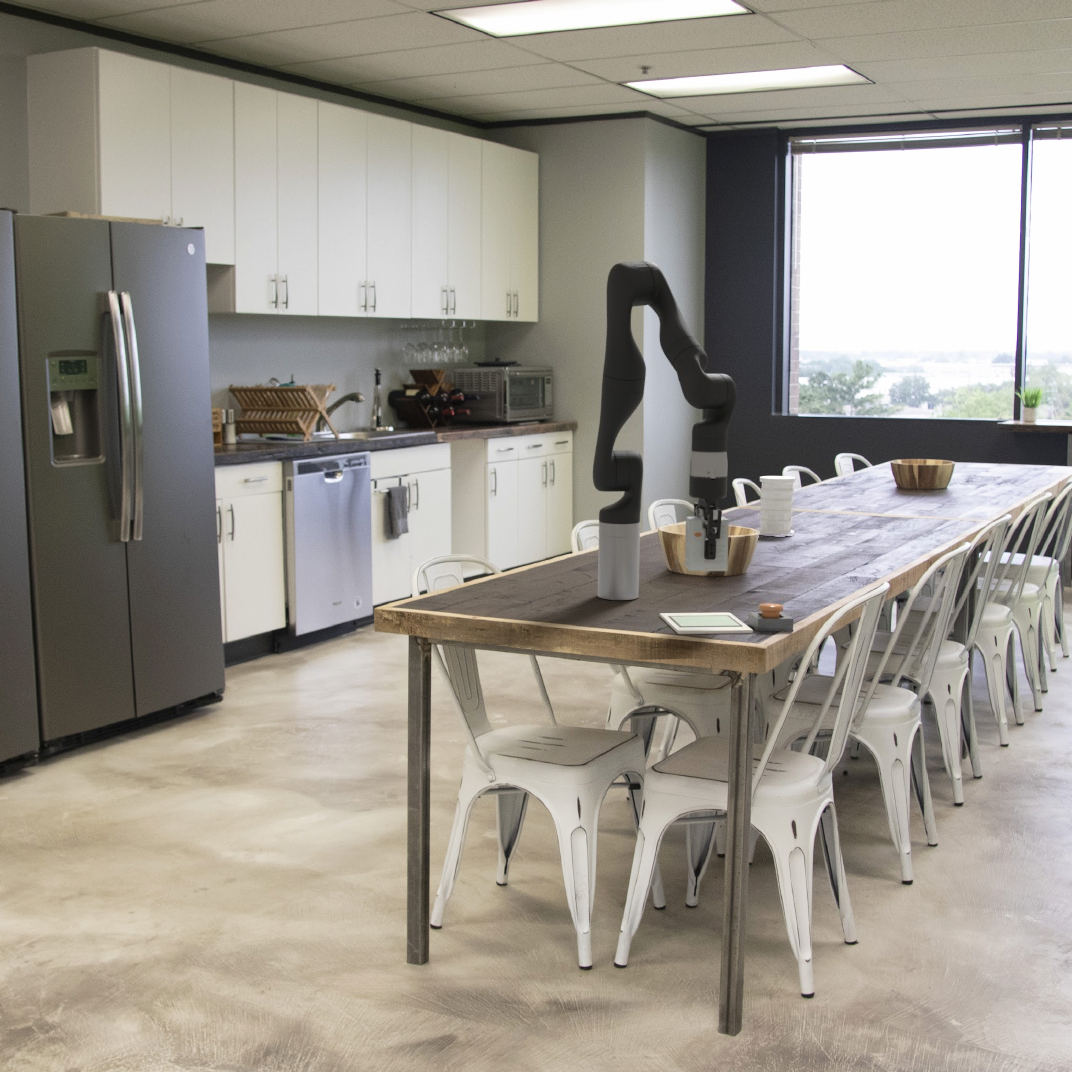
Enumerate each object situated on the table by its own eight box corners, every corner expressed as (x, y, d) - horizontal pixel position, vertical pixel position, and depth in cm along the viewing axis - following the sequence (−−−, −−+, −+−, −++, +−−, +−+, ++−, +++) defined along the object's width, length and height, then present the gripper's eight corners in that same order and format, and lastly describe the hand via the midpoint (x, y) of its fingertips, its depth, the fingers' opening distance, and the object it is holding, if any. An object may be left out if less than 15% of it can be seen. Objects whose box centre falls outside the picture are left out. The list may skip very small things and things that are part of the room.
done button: (755, 618, 259) (756, 603, 258) (778, 617, 259) (779, 603, 259) (762, 622, 254) (762, 608, 254) (785, 622, 255) (786, 607, 254)
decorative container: (772, 531, 405) (774, 475, 403) (802, 535, 397) (804, 477, 394) (748, 534, 398) (750, 477, 396) (778, 538, 389) (780, 479, 387)
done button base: (748, 624, 260) (748, 612, 260) (782, 623, 261) (782, 611, 260) (757, 631, 253) (758, 619, 253) (793, 631, 254) (793, 618, 253)
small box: (723, 567, 261) (724, 516, 259) (728, 571, 255) (729, 519, 254) (684, 567, 261) (685, 516, 259) (688, 571, 255) (689, 519, 254)
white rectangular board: (659, 616, 267) (659, 612, 267) (729, 615, 269) (729, 611, 269) (678, 634, 250) (678, 630, 250) (752, 633, 251) (753, 629, 251)
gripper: (682, 470, 262) (680, 551, 264) (698, 476, 248) (696, 562, 250) (717, 470, 263) (715, 551, 265) (736, 477, 249) (733, 562, 251)
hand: (706, 556), depth 258 cm, fingers closed on small box, 5 cm apart
